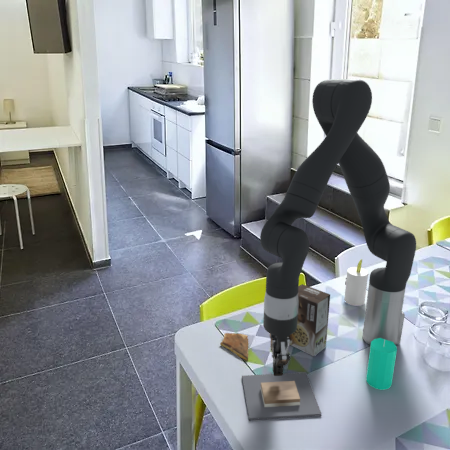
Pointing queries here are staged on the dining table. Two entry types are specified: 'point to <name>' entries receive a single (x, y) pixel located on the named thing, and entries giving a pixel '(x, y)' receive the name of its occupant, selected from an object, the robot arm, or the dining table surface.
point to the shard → (236, 344)
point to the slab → (280, 394)
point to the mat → (260, 412)
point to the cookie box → (311, 320)
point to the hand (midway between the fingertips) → (277, 373)
